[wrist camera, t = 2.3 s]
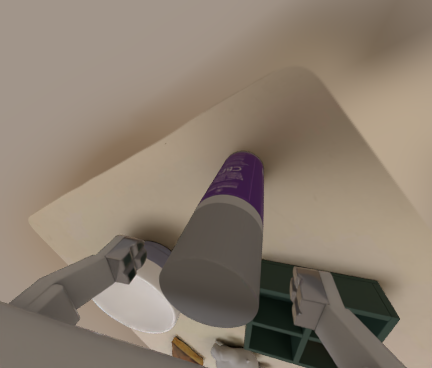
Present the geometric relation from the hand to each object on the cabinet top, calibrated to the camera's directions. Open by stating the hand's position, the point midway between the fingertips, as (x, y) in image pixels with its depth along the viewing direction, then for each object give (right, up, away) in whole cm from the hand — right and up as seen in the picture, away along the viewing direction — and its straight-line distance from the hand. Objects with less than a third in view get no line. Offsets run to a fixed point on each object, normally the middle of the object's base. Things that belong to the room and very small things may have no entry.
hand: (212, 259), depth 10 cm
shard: (-8, -37, +35) cm, 52 cm away
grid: (+13, -14, +18) cm, 27 cm away
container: (+3, +6, +11) cm, 13 cm away
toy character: (+5, -31, +29) cm, 43 cm away
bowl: (-10, -9, +22) cm, 26 cm away
